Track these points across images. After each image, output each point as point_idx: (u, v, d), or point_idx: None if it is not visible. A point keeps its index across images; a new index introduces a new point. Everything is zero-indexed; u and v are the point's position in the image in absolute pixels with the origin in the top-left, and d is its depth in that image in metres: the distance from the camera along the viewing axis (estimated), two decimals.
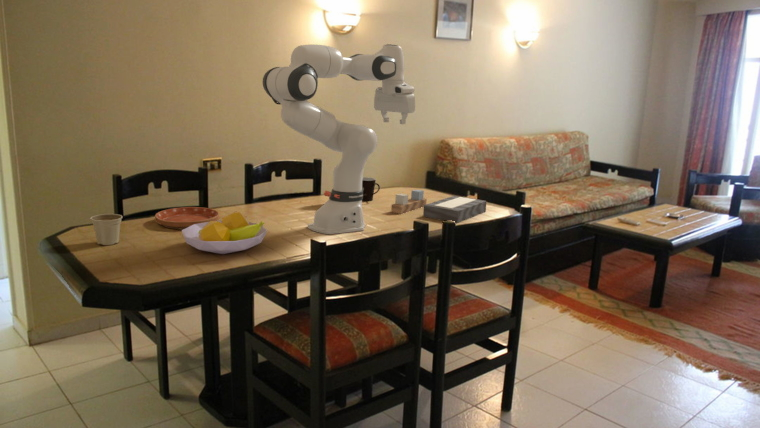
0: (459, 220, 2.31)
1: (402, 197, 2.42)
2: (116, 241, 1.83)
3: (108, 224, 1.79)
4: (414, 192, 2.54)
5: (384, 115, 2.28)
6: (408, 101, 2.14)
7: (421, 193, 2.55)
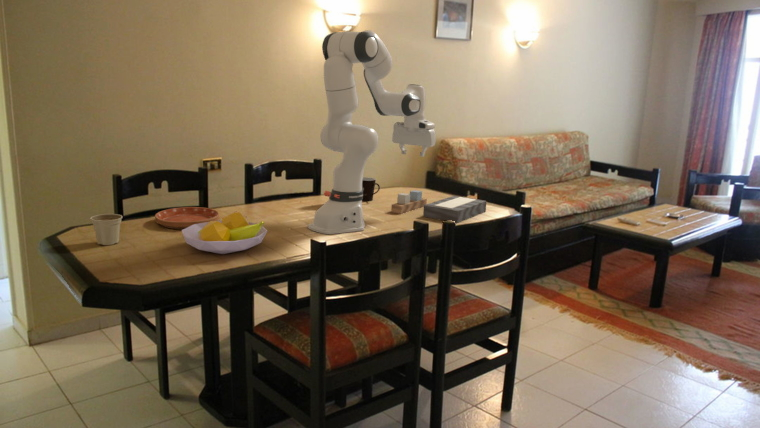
0: (459, 220, 2.31)
1: (404, 196, 2.44)
2: (116, 241, 1.83)
3: (108, 224, 1.79)
4: (412, 193, 2.53)
5: (402, 148, 2.48)
6: (431, 136, 2.37)
7: (419, 194, 2.53)
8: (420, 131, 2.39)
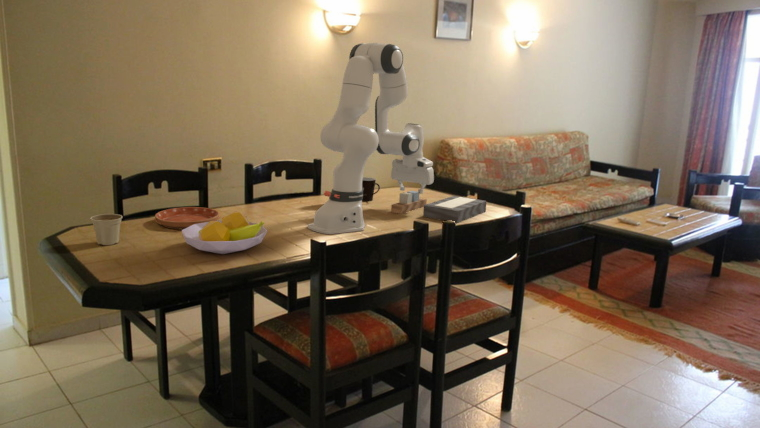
0: (459, 220, 2.31)
1: (406, 196, 2.45)
2: (116, 241, 1.83)
3: (108, 224, 1.79)
4: None
5: (401, 184, 2.52)
6: (429, 174, 2.41)
7: (417, 194, 2.52)
8: (418, 169, 2.43)
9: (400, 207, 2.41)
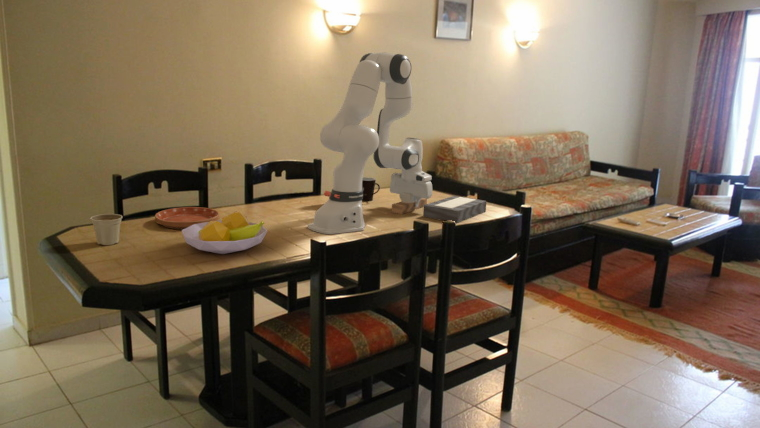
0: (459, 220, 2.31)
1: (408, 195, 2.46)
2: (116, 241, 1.83)
3: (108, 224, 1.79)
4: None
5: None
6: (428, 188, 2.42)
7: None
8: (417, 183, 2.44)
9: (400, 207, 2.41)
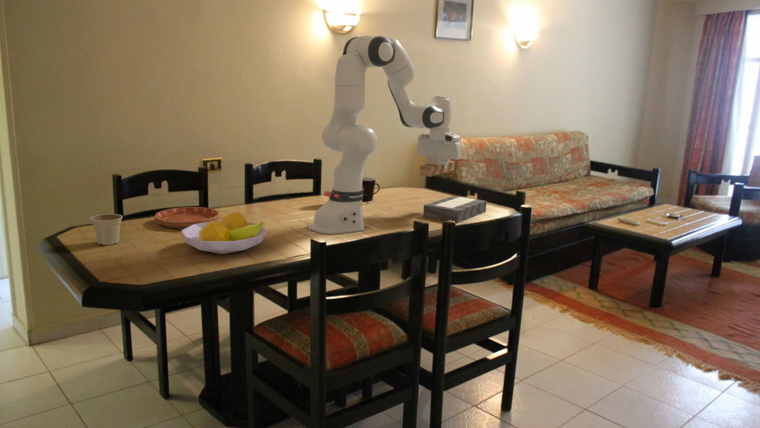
0: (459, 220, 2.31)
1: (437, 157, 2.39)
2: (116, 241, 1.83)
3: (108, 224, 1.79)
4: None
5: None
6: (457, 149, 2.35)
7: None
8: (446, 144, 2.37)
9: (430, 168, 2.34)
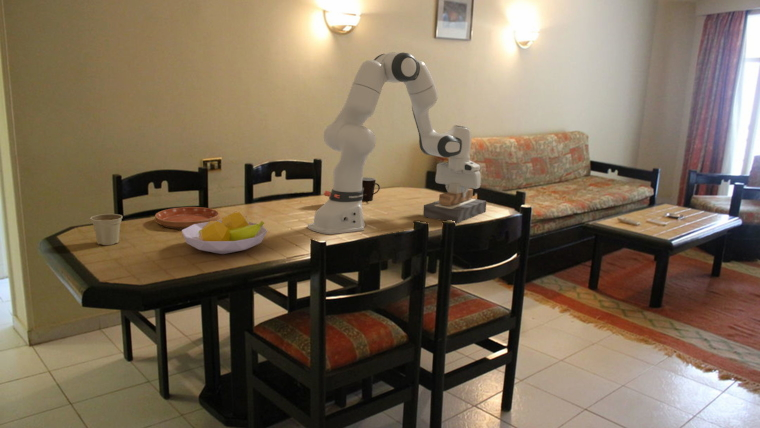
0: (459, 220, 2.31)
1: (456, 186, 2.38)
2: (116, 241, 1.83)
3: (108, 224, 1.79)
4: None
5: (448, 188, 2.45)
6: (477, 178, 2.35)
7: None
8: (465, 173, 2.37)
9: (449, 197, 2.33)
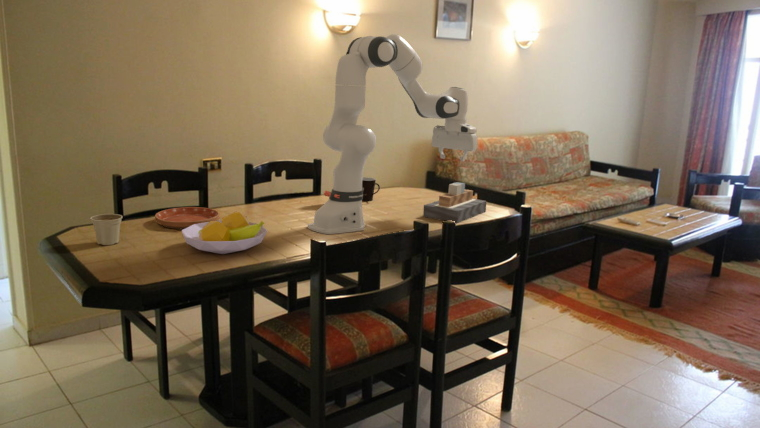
0: (459, 220, 2.31)
1: (456, 187, 2.39)
2: (116, 241, 1.83)
3: (108, 224, 1.79)
4: None
5: (441, 152, 2.42)
6: (473, 140, 2.31)
7: (462, 186, 2.43)
8: (462, 135, 2.33)
9: (449, 198, 2.33)
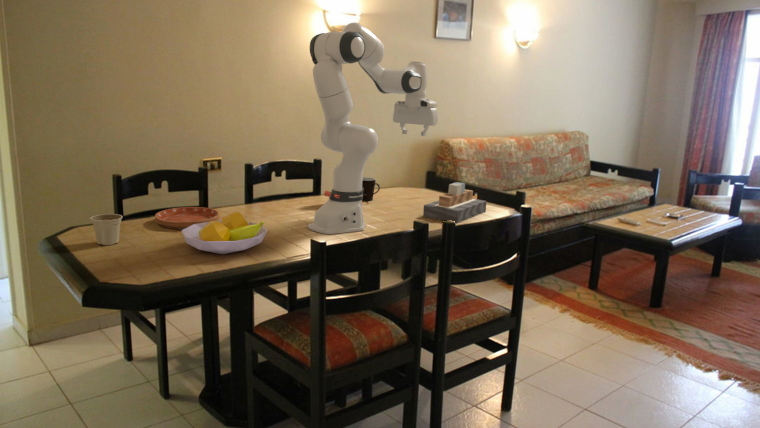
0: (459, 220, 2.31)
1: (456, 187, 2.39)
2: (116, 241, 1.83)
3: (108, 224, 1.79)
4: None
5: (403, 127, 2.43)
6: (433, 114, 2.32)
7: (462, 186, 2.43)
8: (422, 110, 2.34)
9: (449, 198, 2.33)
